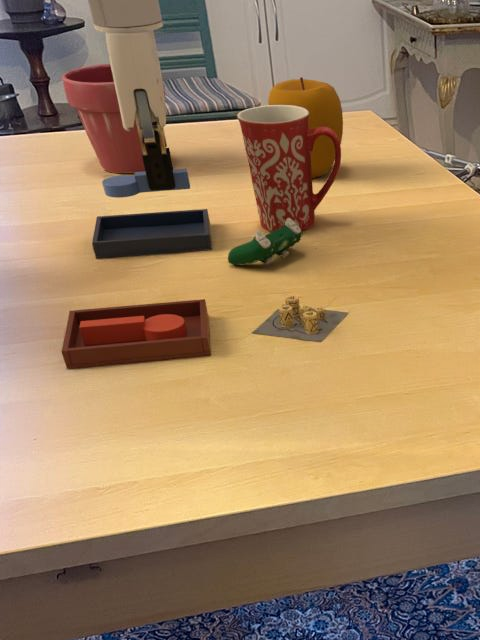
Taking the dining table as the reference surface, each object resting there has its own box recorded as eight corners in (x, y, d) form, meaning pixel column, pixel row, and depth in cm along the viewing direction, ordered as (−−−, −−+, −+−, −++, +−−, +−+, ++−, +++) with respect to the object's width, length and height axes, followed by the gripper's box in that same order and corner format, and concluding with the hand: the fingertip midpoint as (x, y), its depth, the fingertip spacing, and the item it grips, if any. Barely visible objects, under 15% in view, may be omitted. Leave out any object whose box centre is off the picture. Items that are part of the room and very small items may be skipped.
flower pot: (73, 161, 148) (49, 68, 139) (160, 148, 154) (142, 58, 145) (100, 184, 139) (76, 86, 130) (191, 170, 145) (174, 75, 136)
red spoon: (83, 351, 96) (78, 332, 95) (86, 333, 100) (81, 315, 98) (187, 341, 98) (183, 323, 97) (186, 324, 101) (183, 306, 100)
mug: (246, 235, 123) (229, 121, 114) (260, 212, 130) (245, 103, 121) (342, 237, 123) (332, 123, 114) (351, 214, 130) (342, 105, 121)
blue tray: (95, 258, 117) (91, 243, 116) (100, 231, 124) (96, 216, 123) (212, 249, 119) (209, 234, 118) (209, 223, 127) (207, 208, 125)
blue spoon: (190, 181, 120) (186, 165, 119) (190, 192, 117) (187, 175, 116) (106, 188, 119) (101, 171, 117) (104, 199, 115) (99, 181, 114)
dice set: (315, 335, 101) (313, 317, 99) (271, 329, 102) (269, 311, 100) (333, 316, 104) (331, 299, 103) (291, 311, 105) (289, 294, 104)
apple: (362, 173, 144) (355, 77, 135) (306, 188, 138) (296, 89, 130) (316, 159, 150) (307, 66, 141) (261, 173, 144) (248, 77, 135)
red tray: (66, 369, 94) (61, 351, 93) (74, 327, 102) (69, 310, 100) (210, 355, 97) (207, 337, 96) (208, 315, 104) (205, 298, 103)
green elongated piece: (242, 284, 116) (264, 256, 111) (222, 257, 115) (243, 228, 110) (291, 261, 121) (313, 233, 117) (272, 235, 121) (294, 207, 116)
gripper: (95, 2, 111) (134, 170, 123) (86, 26, 99) (130, 208, 112) (161, 0, 112) (192, 166, 124) (159, 23, 101) (194, 203, 113)
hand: (162, 185), depth 118 cm, fingers closed on blue spoon, 1 cm apart
